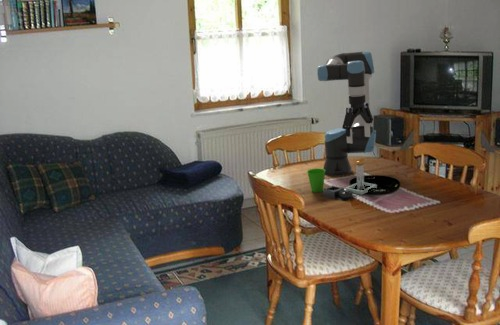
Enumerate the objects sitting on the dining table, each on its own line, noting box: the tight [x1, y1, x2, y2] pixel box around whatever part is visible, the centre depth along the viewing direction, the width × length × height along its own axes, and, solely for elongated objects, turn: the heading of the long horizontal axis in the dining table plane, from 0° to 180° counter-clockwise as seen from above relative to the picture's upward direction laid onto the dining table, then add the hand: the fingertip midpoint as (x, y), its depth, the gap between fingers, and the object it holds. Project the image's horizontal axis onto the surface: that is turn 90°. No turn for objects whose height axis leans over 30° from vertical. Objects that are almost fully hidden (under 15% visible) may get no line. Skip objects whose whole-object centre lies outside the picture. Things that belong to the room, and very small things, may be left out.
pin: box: [355, 159, 365, 191], centre depth 283 cm, size 4×4×14 cm
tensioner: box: [320, 184, 357, 202], centre depth 279 cm, size 9×15×5 cm, turn 42°
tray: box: [344, 181, 378, 196], centre depth 285 cm, size 12×10×2 cm
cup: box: [306, 167, 326, 193], centre depth 288 cm, size 9×9×11 cm
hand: (358, 139), depth 279 cm, fingers open, 13 cm apart
